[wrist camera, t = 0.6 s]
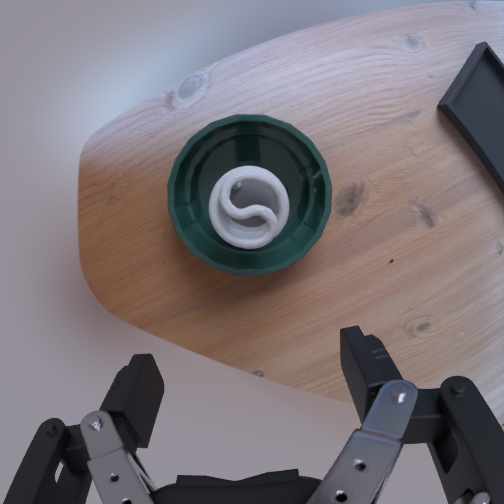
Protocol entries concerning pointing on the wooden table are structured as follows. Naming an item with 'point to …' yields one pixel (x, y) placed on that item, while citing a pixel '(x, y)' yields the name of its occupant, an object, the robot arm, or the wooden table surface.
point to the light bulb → (248, 207)
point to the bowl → (249, 154)
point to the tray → (480, 107)
